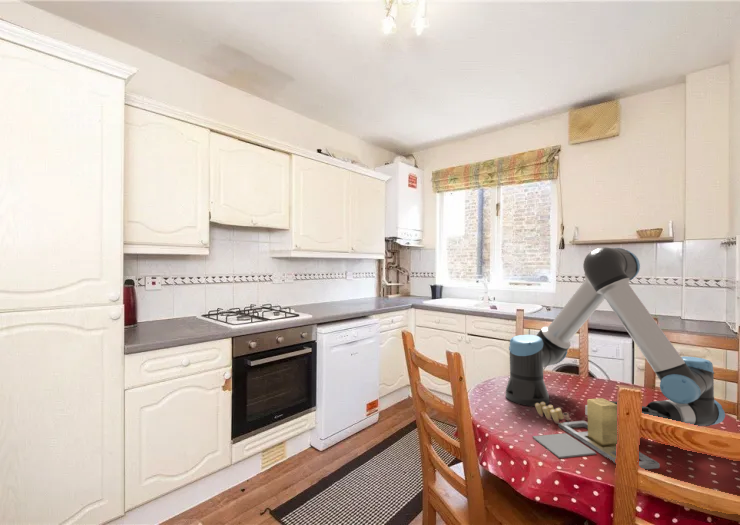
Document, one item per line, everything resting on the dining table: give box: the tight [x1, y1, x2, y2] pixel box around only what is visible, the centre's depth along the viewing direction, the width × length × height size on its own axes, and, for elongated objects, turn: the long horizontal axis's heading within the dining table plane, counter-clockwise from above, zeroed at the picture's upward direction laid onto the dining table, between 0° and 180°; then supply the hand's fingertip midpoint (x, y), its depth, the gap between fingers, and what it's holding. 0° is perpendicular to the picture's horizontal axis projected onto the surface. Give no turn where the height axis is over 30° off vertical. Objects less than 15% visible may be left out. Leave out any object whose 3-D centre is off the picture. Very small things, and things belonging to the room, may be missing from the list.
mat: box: [532, 432, 597, 459], centre depth 95 cm, size 11×11×1 cm
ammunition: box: [534, 402, 570, 425], centre depth 112 cm, size 5×7×8 cm
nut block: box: [586, 397, 617, 448], centre depth 95 cm, size 5×5×12 cm
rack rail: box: [557, 420, 660, 470], centre depth 95 cm, size 24×9×1 cm, turn 9°
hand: (605, 420), depth 95 cm, fingers open, 13 cm apart
